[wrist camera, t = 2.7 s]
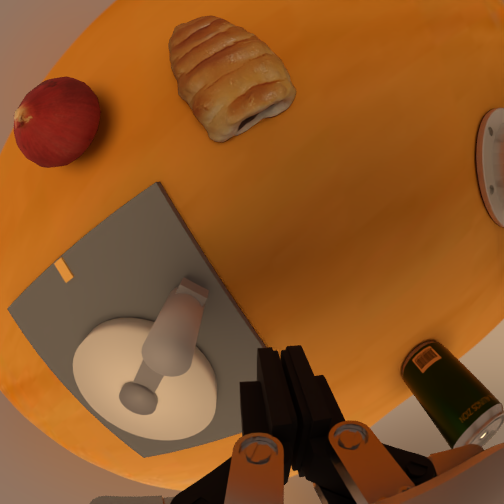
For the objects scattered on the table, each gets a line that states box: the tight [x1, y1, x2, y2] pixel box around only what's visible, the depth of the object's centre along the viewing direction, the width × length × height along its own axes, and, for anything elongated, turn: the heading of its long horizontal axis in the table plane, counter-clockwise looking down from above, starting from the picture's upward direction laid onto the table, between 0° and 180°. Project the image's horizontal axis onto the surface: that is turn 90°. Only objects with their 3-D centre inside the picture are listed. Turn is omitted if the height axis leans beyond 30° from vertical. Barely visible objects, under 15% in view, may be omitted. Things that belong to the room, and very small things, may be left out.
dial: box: [73, 277, 217, 440], centre depth 17 cm, size 16×12×7 cm
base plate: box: [8, 182, 267, 458], centre depth 21 cm, size 20×22×1 cm
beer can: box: [402, 341, 504, 449], centre depth 17 cm, size 5×5×12 cm
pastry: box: [169, 16, 296, 142], centre depth 15 cm, size 9×7×4 cm
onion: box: [14, 77, 101, 168], centre depth 13 cm, size 6×6×8 cm
